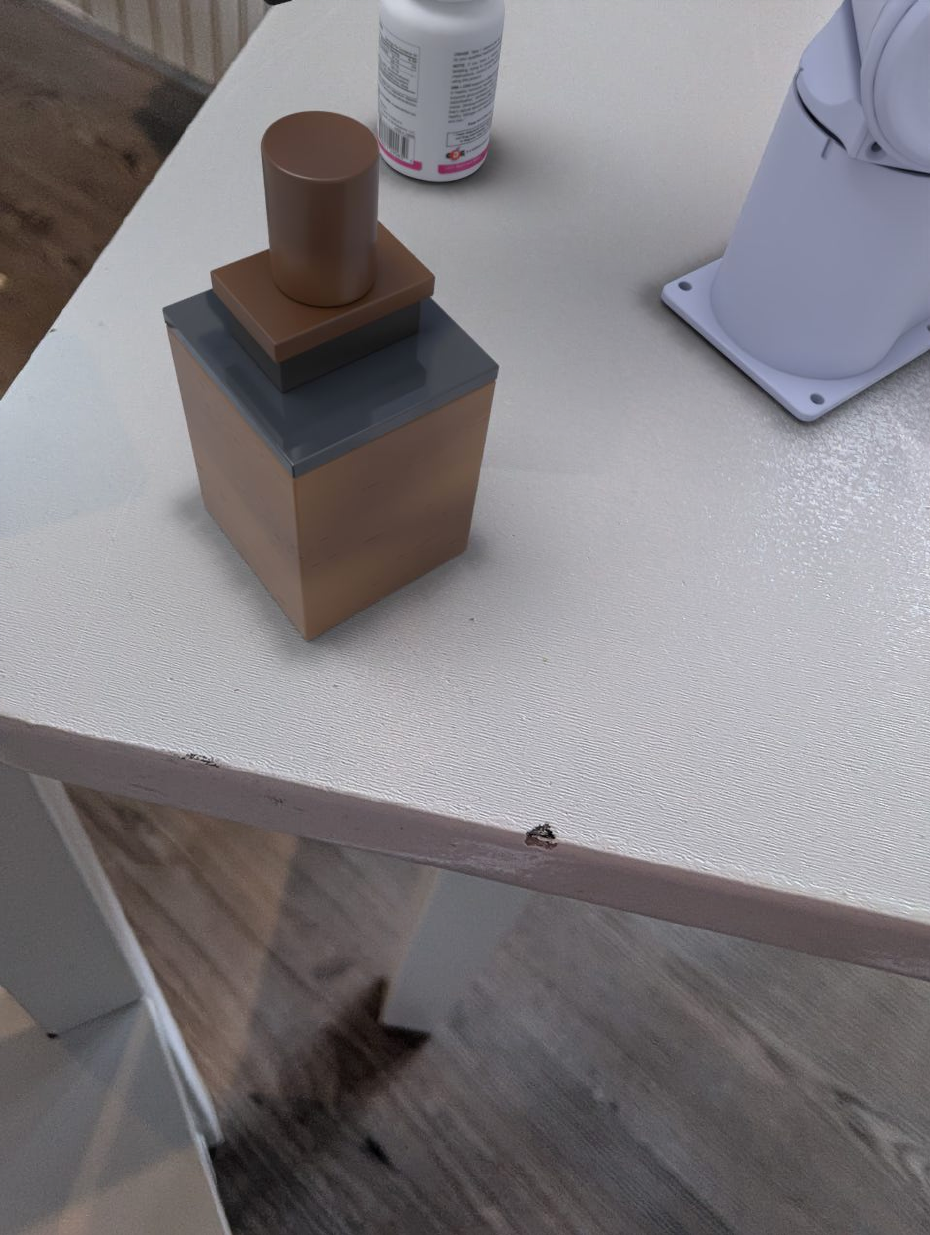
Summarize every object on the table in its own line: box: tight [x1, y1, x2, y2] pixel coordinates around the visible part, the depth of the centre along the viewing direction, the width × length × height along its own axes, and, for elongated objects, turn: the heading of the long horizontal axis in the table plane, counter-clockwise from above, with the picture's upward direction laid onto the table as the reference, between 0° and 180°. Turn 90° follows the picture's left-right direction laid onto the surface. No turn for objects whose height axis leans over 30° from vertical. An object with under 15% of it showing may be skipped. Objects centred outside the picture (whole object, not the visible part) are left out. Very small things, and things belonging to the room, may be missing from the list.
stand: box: [165, 324, 497, 642], centre depth 27 cm, size 6×6×8 cm
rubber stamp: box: [209, 110, 436, 393], centre depth 22 cm, size 4×3×5 cm, turn 128°
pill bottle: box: [376, 0, 506, 183], centre depth 38 cm, size 5×5×8 cm
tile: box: [161, 288, 500, 479], centre depth 24 cm, size 6×6×1 cm
